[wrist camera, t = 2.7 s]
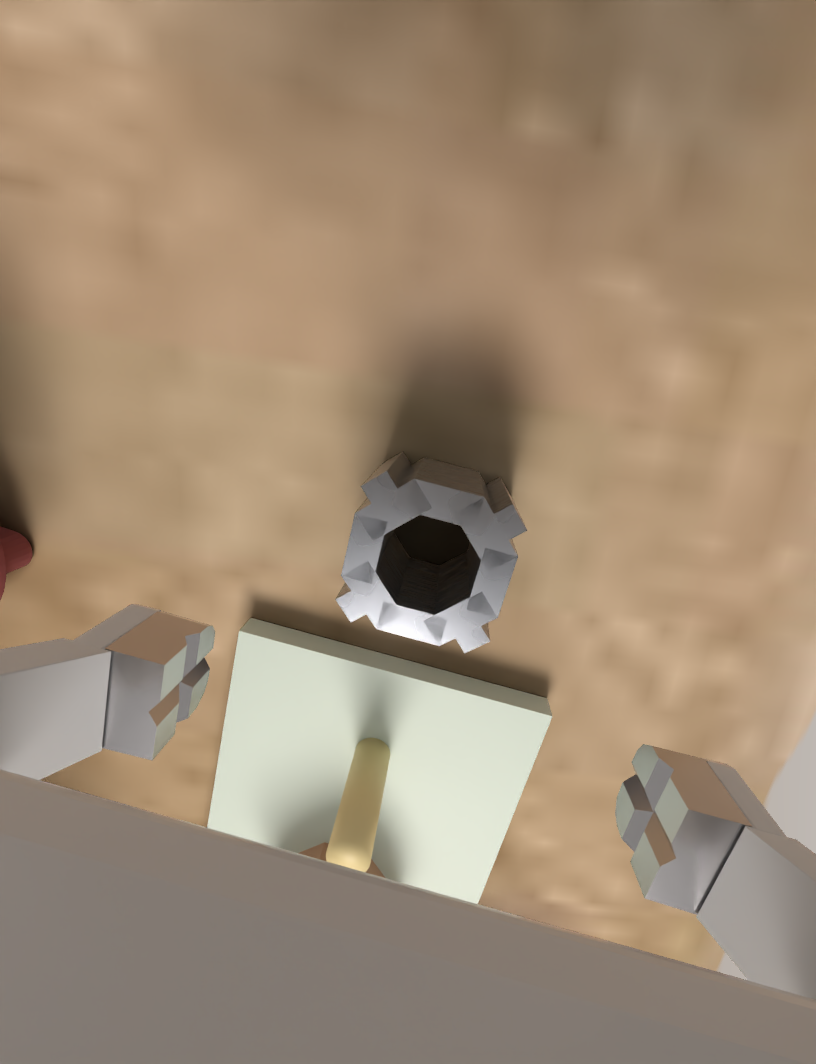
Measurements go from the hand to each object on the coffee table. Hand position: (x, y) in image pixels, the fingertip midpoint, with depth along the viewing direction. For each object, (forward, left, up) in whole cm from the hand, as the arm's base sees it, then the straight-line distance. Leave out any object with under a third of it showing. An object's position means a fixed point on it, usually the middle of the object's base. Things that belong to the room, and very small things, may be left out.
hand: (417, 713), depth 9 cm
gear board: (+13, 0, -11) cm, 17 cm away
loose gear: (-1, 0, -11) cm, 11 cm away
